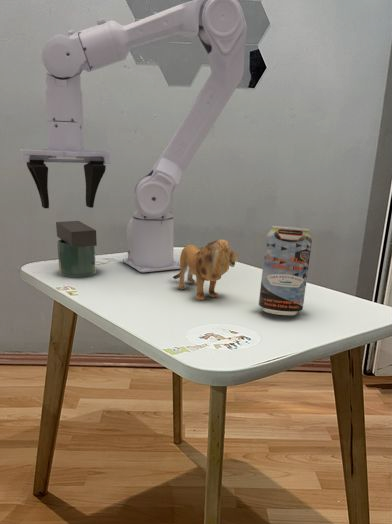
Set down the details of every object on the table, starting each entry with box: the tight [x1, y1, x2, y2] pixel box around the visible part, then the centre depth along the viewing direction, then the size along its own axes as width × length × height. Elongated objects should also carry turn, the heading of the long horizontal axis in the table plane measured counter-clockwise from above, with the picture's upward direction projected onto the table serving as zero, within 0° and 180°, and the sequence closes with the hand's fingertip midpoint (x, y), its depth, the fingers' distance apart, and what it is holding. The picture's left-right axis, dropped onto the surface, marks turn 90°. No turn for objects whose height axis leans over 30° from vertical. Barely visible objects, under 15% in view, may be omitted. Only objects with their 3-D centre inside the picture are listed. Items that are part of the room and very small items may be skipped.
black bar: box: [55, 220, 98, 247], centre depth 94 cm, size 10×4×2 cm, turn 27°
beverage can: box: [258, 225, 313, 316], centre depth 76 cm, size 6×7×12 cm
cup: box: [56, 239, 97, 278], centre depth 96 cm, size 6×6×6 cm
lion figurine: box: [172, 239, 240, 301], centre depth 86 cm, size 15×5×9 cm, turn 35°
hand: (68, 207), depth 97 cm, fingers open, 7 cm apart
